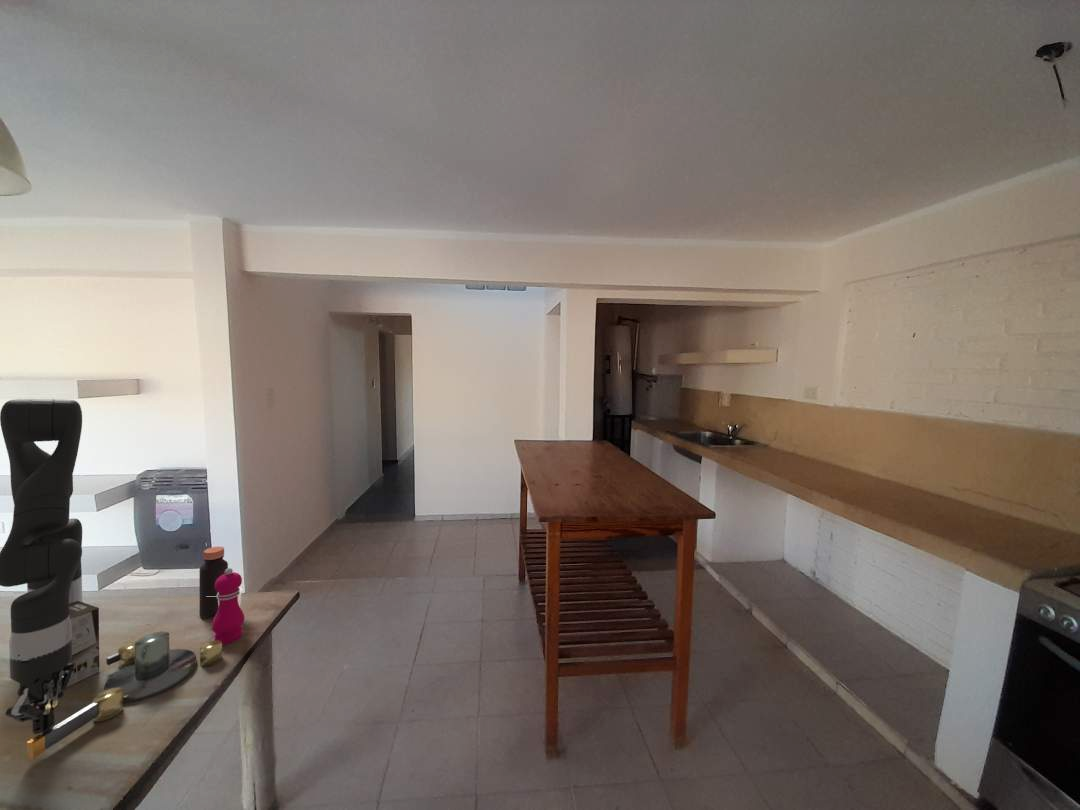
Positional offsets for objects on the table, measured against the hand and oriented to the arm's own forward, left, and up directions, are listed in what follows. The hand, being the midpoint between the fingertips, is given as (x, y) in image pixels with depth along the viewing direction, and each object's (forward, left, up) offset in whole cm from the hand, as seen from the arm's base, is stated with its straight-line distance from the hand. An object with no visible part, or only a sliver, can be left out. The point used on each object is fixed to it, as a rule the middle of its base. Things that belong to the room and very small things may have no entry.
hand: (43, 729), depth 78 cm
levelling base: (0, +21, -4) cm, 21 cm away
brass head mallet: (+3, +4, -3) cm, 6 cm away
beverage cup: (0, +42, -4) cm, 42 cm away
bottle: (-8, +45, -4) cm, 46 cm away
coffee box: (-18, +17, -4) cm, 25 cm away
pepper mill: (+6, +35, -4) cm, 36 cm away
